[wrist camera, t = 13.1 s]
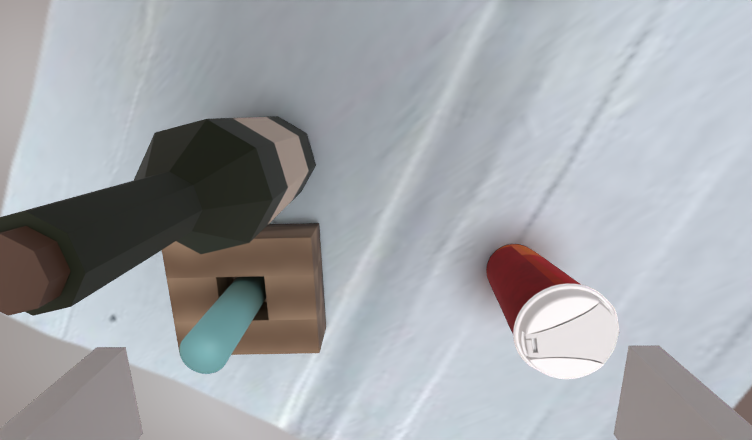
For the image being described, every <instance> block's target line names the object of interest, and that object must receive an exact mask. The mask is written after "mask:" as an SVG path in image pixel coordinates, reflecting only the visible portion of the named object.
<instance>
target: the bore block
mask: <svg viewBox="0 0 752 440" xmlns="http://www.w3.org/2000/svg"><path fill="white" fill-rule="evenodd" d="M162 254H163V260H164V266H165V271H166V277H167V283H168V289H169V295H170V300H171V306H172V312H173V318H174V324H175V330H176V335H177V341H178V347H179V353H180V344H181V342H182V340H183V339H184V338H185V336H186V335H187V334H188V333H189V332H190V331H191V329H192V328H193V327H194V326H195V325H196V324H197V323H198V321H199V320H200V319H201V318H202V317H203V316H204V315H205V313H206V312H207V311H208V310H209V309H210V308H211V307H212V305H213V304H214V303H215V302H216V301H217V300H218V299H219V297H220V296H221V295H222V294H223V293H224V292H225V291H226V289H227V288H228V287H229V286H230V285H231V284H232V283H233V281H234V280H235V279H236V278H237V277H251V276H264V279H265V289H266V299H265V301H264V302H263V304H262V306H261V307H260V309H259V311H258V312H257V314H256V315H255V317H254V319H253V320H252V322H251V323H250V325H249V327H248V328H247V330H246V332H245V333H244V335H243V336H242V338H241V340H240V341H239V343H238V344H237V346H236V348H235V349H234V351H233V352H232V354H231V355H237V354H292V353H320V349H321V345H322V341H323V337H324V334H325V330H326V318H325V303H324V288H323V273H322V258H321V243H320V228H319V223H309V224H268V225H267V226H266V227H265V228H264V229H263V230H262V231H261V232H260V233H259V234H258V235H257V236H256V237H255V238H254V239H253V240H252V241H251V242H250V243H247V244H243V245H239V246H235V247H230V248H226V249H222V250H218V251H214V252H210V253H205V254H199V253H197V252H195V251H194V250H192V249H190V248H188V247H186V246H184V245H182V244H180V243H178V242H177V241H175V242H174V243H172V244H170V245H169V246H167V247H166V248H164V249H162Z"/></svg>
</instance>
